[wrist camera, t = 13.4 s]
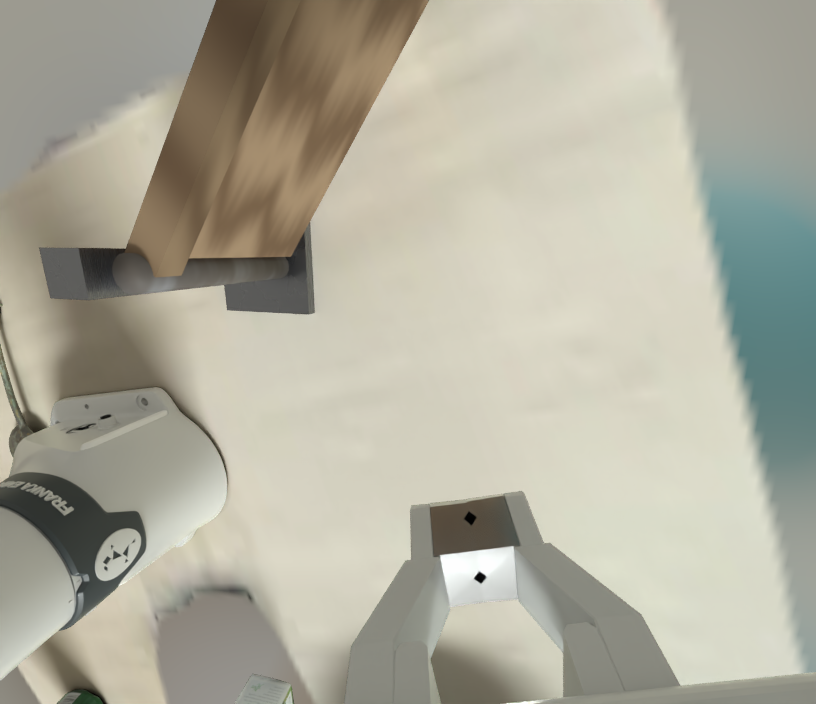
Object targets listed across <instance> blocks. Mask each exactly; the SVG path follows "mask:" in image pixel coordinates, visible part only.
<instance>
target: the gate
mask: <svg viewBox="0 0 816 704" xmlns="http://www.w3.org/2000/svg"><path fill="white" fill-rule="evenodd" d="M428 1H429V0H216V2H215V5H214V8H213V11H212V14H211V16H210V19H209V22H208V25H207V27H206V30H205V33H204V36H203V38H202V41H201V44H200V47H199V49H198V52H197V55H196V57H195V60H194V63H193V66H192V68H191V71H190V74H189V77H188V79H187V82H186V85H185V88H184V90H183V93H182V96H181V99H180V101H179V104H178V107H177V110H176V112H175V115H174V118H173V121H172V123H171V126H170V129H169V132H168V134H167V137H166V140H165V143H164V145H163V148H162V151H161V154H160V156H159V159H158V162H157V165H156V167H155V170H154V173H153V176H152V178H151V181H150V184H149V187H148V189H147V192H146V195H145V198H144V200H143V203H142V206H141V209H140V211H139V214H138V217H137V220H136V222H135V225H134V228H133V231H132V233H131V236H130V239H129V242H128V244H127V247H126V250H125V253H122V254H119V255H118V256H117V257H116V258H115V260H114V262H113V266H112V272H113V277H114V280H115V282H116V284H117V285H118V287H119V288H120V289H121V290H122V291H124V292H125V293H127V294H130V295H137V294H146V293H155V292H164V291H173V290H182V289H191V288H200V287H208V286H217V285H226V284H235V283H244V282H253V281H262V280H271V279H279V278H283V277H285V276H286V275H287V273H288V271H289V264H288V261H287V259H286V258H285V257H291V256H292V254H293V252H294V250H295V248H296V246H297V244H298V243H299V241H300V239H301V237H302V235H303V233H304V231H305V230H306V228H307V226H308V224H309V222H310V220H311V218H312V217H313V215H314V213H315V211H316V209H317V207H318V206H319V204H320V202H321V200H322V198H323V196H324V194H325V193H326V191H327V189H328V187H329V185H330V183H331V181H332V180H333V178H334V176H335V174H336V172H337V170H338V168H339V167H340V165H341V163H342V161H343V159H344V157H345V155H346V154H347V152H348V150H349V148H350V146H351V144H352V142H353V141H354V139H355V137H356V135H357V133H358V131H359V129H360V128H361V126H362V124H363V122H364V120H365V118H366V116H367V115H368V113H369V111H370V109H371V107H372V105H373V103H374V102H375V100H376V98H377V96H378V94H379V92H380V90H381V89H382V87H383V85H384V83H385V81H386V79H387V77H388V76H389V74H390V72H391V70H392V68H393V66H394V64H395V63H396V61H397V59H398V57H399V55H400V53H401V51H402V50H403V48H404V46H405V44H406V42H407V40H408V39H409V37H410V35H411V33H412V31H413V29H414V27H415V26H416V24H417V22H418V20H419V18H420V16H421V14H422V13H423V11H424V9H425V7H426V5H427V3H428Z"/></svg>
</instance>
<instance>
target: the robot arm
mask: <svg viewBox="0 0 816 704" xmlns="http://www.w3.org/2000/svg"><path fill="white" fill-rule="evenodd" d="M226 495H227V478H226V472H225V468H224V465H223V462H222V460H221V457H220V455H219V453H218V451H217V450H216V448H215V446H214V445H213V443H212V442H211V440H210V439H209V438H208V436H207V435H206V434H205V433H204V432H203V431H202V430H201V429H200V428H199V427H198V426H197V425H196V424H195V423H193V422H192V421H191V420H190V419H188V418H187V417H186V416H185V415H183V414H182V413H181V412H180V411H179V409H178V408H177V406H176V405H175V403H174V402H173V401H172V399H171V398H170V396H169V395H168V394H167V393H166V392H165V391H164V390H163V389H161V388H158V387H152V388H144V389H135V390H127V391H119V392H110V393H102V394H94V395H85V396H77V397H69V398H64V399H62V400H59V401H57V402H55V404H54V406H53V409H52V413H51V425H50V427H48V428H45V429H43V430H40V431H38V432H35V433H33V434H31V435H29V436H27V437H25V438H24V439H22V440H21V442H20V443H19V444H18V446H17V448H16V450H15V453H14V458H13V463H12V467H11V471H10V475H9V478H7V479H6V480H4V481H3V482H1V483H0V680H1V679H3V678H4V677H5V676H6V675H7V674H9V673H10V672H11V671H12V670H13V669H14V668H15V667H17V666H18V665H19V664H20V663H21V662H22V661H23V660H25V659H26V658H27V657H28V656H29V655H30V654H32V653H33V652H34V651H35V650H36V649H37V648H38V647H40V646H41V645H42V644H43V643H44V642H45V641H47V640H48V639H49V638H50V637H51V636H52V635H54V634H55V633H56V632H57V631H60V630H64V629H67V628H69V627H71V626H72V625H74V624H75V623H76V622H77V621H78V620H80V619H81V618H82V617H83V616H86V615H88V614H89V613H90V612H91V611H93V610H94V609H95V608H96V607H97V605H98V604H99V603H100V602H102V601H103V600H104V599H105V598H106V597H107V596H108V595H110V594H111V593H112V592H113V591H114V590H115V589H116V588H117V587H118V586H120V585H122V584H124V583H125V582H127V581H128V580H129V579H131V578H132V577H133V576H135V575H136V574H138V573H139V572H140V571H142V570H143V569H144V568H146V567H147V566H148V565H150V564H151V563H152V562H154V561H155V560H156V559H158V558H159V557H160V556H162V555H163V554H164V553H166V552H167V551H168V550H170V549H171V548H172V547H174V546H176V547H181V546H183V545H184V544H185V543H187V542H188V541H189V540H190V539H191V538H192V537H193V535H194V533H195V532H196V530H197V529H198V528H199V527H201V526H203V525H205V524H206V523H208V522H210V521H211V520H213V519H214V518H215V517H216V516H217V515H218V514H219V513H220V511H221V510H222V508H223V506H224V503H225V500H226ZM410 522H411V560H407V561H405V562H404V564H403V565H402V567H401V569H400V570H399V572H398V573H397V575H396V576H395V578H394V580H393V581H392V583H391V584H390V586H389V587H388V589H387V591H386V592H385V594H384V595H383V597H382V598H381V600H380V602H379V603H378V605H377V606H376V608H375V609H374V611H373V613H372V614H371V616H370V617H369V619H368V620H367V622H366V624H365V625H364V627H363V628H362V630H361V631H360V633H359V635H358V636H357V638H356V639H355V641H354V642H353V644H352V646H351V652H350V660H349V668H348V677H347V685H346V693H345V702H344V704H441V701H440V697H439V693H438V689H437V684H436V680H435V676H434V672H433V668H432V664H431V660H430V659H431V657H432V654H433V652H434V649H435V647H436V644H437V642H438V639H439V637H440V634H441V632H442V629H443V627H444V624H445V622H446V619H447V616H448V614H449V611H450V607H455V606H462V605H469V604H476V603H482V602H483V601H484V602H494V601H505V600H517V599H518V600H519V602H520V604H521V605H522V606H523V607H524V608H525V609H526V610H527V612H528V613H529V614H530V615H531V616H532V617H533V619H534V620H535V621H536V622H537V623H538V624H539V626H540V627H541V628H542V629H543V630H544V631H545V633H546V634H547V635H548V636H549V637H550V638H551V639H552V641H553V642H554V643H555V644H556V645H557V646H558V648H559V649H560V650H561V651H562V652H563V697H562V698H552V699H542V700H532V701H522V702H512V703H502V704H816V672H814V673H804V674H794V675H784V676H774V677H764V678H754V679H744V680H734V681H724V682H714V683H704V684H694V685H684V686H680V684H679V682H678V680H677V678H676V677H675V675H674V673H673V671H672V669H671V668H670V666H669V664H668V662H667V660H666V658H665V657H664V655H663V653H662V651H661V649H660V648H659V646H658V644H657V642H656V640H655V638H654V637H653V635H652V633H651V631H650V629H649V628H648V626H647V624H646V622H645V620H644V618H643V617H642V615H641V614H640V613H639V612H637V611H636V610H635V609H634V608H632V607H631V606H630V605H628V604H627V603H626V602H625V601H623V600H622V599H621V598H620V597H618V596H617V595H616V594H614V593H613V592H612V591H611V590H609V589H608V588H607V587H606V586H604V585H603V584H602V583H600V582H599V581H598V580H597V579H595V578H594V577H593V576H592V575H590V574H589V573H588V572H586V571H585V570H584V569H583V568H581V567H580V566H579V565H578V564H576V563H575V562H574V561H572V560H571V559H570V558H569V557H567V556H566V555H565V554H564V553H562V552H561V551H560V550H558V549H557V548H556V547H555V546H553V545H552V544H551V543H544V542H543V540H542V537H541V535H540V532H539V530H538V527H537V524H536V522H535V519H534V517H533V514H532V512H531V509H530V507H529V504H528V501H527V499H526V496H525V494H524V493H523V492H522V491H518V492H511V493H504V494H497V495H490V496H483V497H476V498H469V499H464V500H455V501H445V502H436V503H430V504H421V505H411V510H410Z"/></svg>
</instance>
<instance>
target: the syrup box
mask: <svg viewBox="0 0 816 704" xmlns="http://www.w3.org/2000/svg"><path fill="white" fill-rule="evenodd" d="M235 704H294V700H293V694H292V687H291V684H290V683H287V682H284V681H281V680H277V679H273V678H269V677H265V676H261V675H255V674H252V675H251V676H250V678H249V680H248V682H247V683H246V685H245V687H244V689H243V690H242V692H241V694H240V695H239V697H238V699H237V700H236V702H235Z"/></svg>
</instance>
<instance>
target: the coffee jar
mask: <svg viewBox="0 0 816 704" xmlns="http://www.w3.org/2000/svg"><path fill="white" fill-rule="evenodd" d="M57 704H103V703H102V701H101V699H100V698H99V697H97V696H95V695H93V694H91V693H90V692H89V691H87V690H74V691H71V692H68V693H67V694H66V695H65V696H64V697H63V698H62V699H61V700H60V701H59V702H58V703H57Z"/></svg>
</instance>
